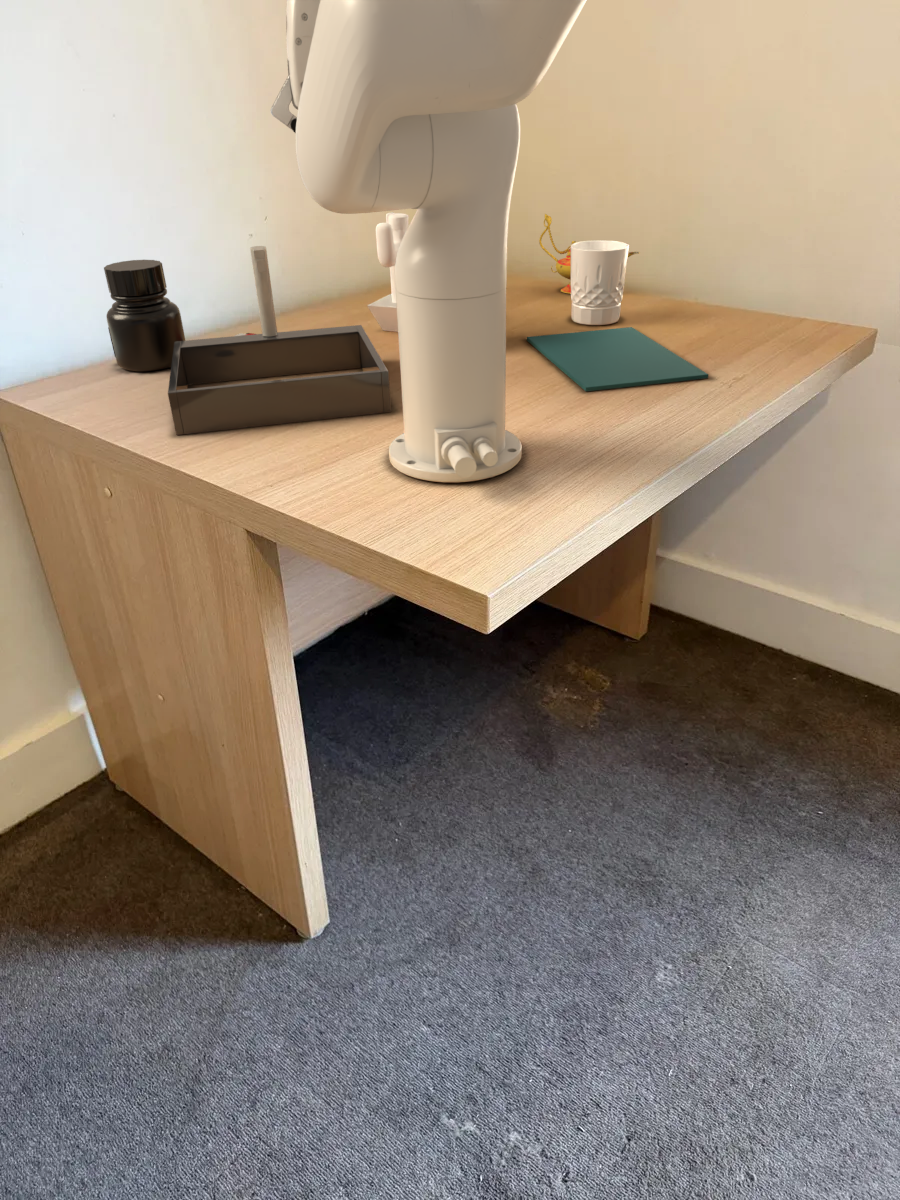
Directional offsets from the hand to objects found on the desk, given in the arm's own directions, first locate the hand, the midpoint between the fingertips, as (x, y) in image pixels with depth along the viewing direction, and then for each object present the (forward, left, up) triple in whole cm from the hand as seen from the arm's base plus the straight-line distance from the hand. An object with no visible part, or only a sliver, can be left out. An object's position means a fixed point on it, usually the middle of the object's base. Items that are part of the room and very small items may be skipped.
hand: (350, 187), depth 90 cm
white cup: (+20, -36, -21) cm, 46 cm away
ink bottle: (+19, +25, -21) cm, 38 cm away
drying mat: (+2, -31, -21) cm, 38 cm away
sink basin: (+1, +10, -21) cm, 23 cm away
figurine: (+25, -9, -21) cm, 34 cm away
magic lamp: (+36, -41, -21) cm, 59 cm away
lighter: (+22, +11, -21) cm, 32 cm away
